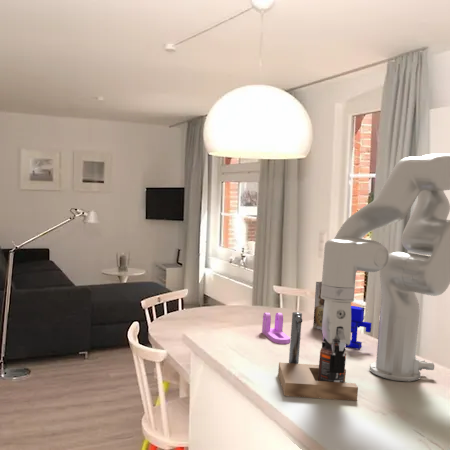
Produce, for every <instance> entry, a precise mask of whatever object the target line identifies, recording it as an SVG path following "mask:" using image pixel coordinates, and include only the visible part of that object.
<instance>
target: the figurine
mask: <svg viewBox="0 0 450 450" xmlns="http://www.w3.org/2000/svg"><path fill="white" fill-rule="evenodd" d="M364 318H365V307H364V306H363V307H362V306H356V305H351V341H350V345H348V346H347V345H346V344H345V348H349V349H355V350H360V349H361V347H362V343H363V342H362V341H358V340H357V339H358V328H361V327H362V328H365V332H366V333H371V331H372V322H368V321H364Z"/></svg>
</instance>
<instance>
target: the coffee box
mask: <svg viewBox="0 0 450 450" xmlns="http://www.w3.org/2000/svg"><path fill="white" fill-rule="evenodd" d="M321 287H322V280H321V281H315V294H314V307H313V308H314V309H313V310H314V311H313V322H312V323H313V324H312V325H313V326H312V327H313V328H314V329H317V330H319V329H320V331H322V320H323V310H324V301H325V300H324V299H322V298H321Z"/></svg>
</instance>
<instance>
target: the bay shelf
mask: <svg viewBox="0 0 450 450" xmlns="http://www.w3.org/2000/svg"><path fill="white" fill-rule="evenodd" d="M277 371H278V372H277V375H278V379H279V383H280V385H281V389H282V392H283V396H284V397H292V398H308V399H309V398H310V399H321V400H322V399H323V400H338V401H339V400H340V401H354V402H357V401H358V392H359V387H358V386H357V383H355V382H354V383H353V382H346V372H347V369H346V368H345V372H344V383H342V382H326V381H318V373H319V364H311V363H309V364H308V363H298V364H296V363H289V362H281V361H280V362H278V370H277Z"/></svg>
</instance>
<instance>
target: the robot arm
mask: <svg viewBox="0 0 450 450" xmlns="http://www.w3.org/2000/svg"><path fill="white" fill-rule="evenodd" d="M445 191H450V153H448V152H447V153H429V154H424V155H422V156H421V155H420V156H419V155H418V156H408V157H404V158H402V159H399V160H398V162H397V163H396V164H395V166H394V167H393V169H392V170H391V172H390V174H389V175H388V177H387V179H386V180H385V182H384V183H383V186H382V187H381V189H380V190H379V192H378V193H377V194H376V195H377V196H376V197H375V198H374V199H373V200H372V201H371V202H370V203H367V204H365V206H363V207H362V208H360V209H359V210H357V211H356V212H355V213H353V214H352V215H351V216H349V217H348V218H347V219H346V220H345V221H344V223H342V225H341V227H340V229H339V230H338V232H337V233H336V234H335V237H334V238H333V239H328V240H326V242H325V244H324V249H323V250H324V251H323V261H322V262H323V264H322V278H321V281H322V287H321V298H322V299H324V300H325V301H324V310H323V320H322V330H321V332H322V333H321V334H322V342H321V348H323V347H325V346H326V345H325V339H326V340H327V342H328V343H329V344H331V347H332V354H330V366H329V371H330V372H331V373H344V365H345V366H346V361H345V352H346V349H347V348H346V347H345V346H346V345H347V346H348V345H350V341H351V338H352V333H351V306H352V303H353V302H354V300H355V290H356V289H355V288H356V276H357V271H358V272H359V271H361V272H365V273H377V272H379V278H380V288H381V292H380V293H381V296H380V297H381V299H380V300H381V301H380V312H379V313H380V314H379V326H378V334H377V335H378V336H377V349H376V350H377V351H376V361H374V362H371V363H370V364H369V371H370V372H371V373H372V374H374V375H376V376H378V377H381V378H383V379H387V380H391V381H397V382H415V381H418V380H420V379H421V374H422V373H421V371H422V370H427V371H434V370H435V363H434V362H431V361H426V360H425V359H424V360H423V359H418V358H417V357H416V356H417V345H418V334H419V333H418V332H419V320H420V314H421V313H420V303H419V299H418V298H417V294H421V295H427V296H432V297H437V296H440V295H443V294H444V293H446V291H447V289H448V288H449V286H450V219H448V217H449V214H450V200H449V199H448V196H447V195H446V193H445ZM416 199H417V200H416ZM415 201H416V204H415V207H414V209H413V210H412V213H411V215H410V217H409V219H408V221H407V223H406V224H405V227H404V229H403V232H402V235H401V245H402V247H403V248H404V249H405V250H407V251H409V252H405V251H395V252H394V251H393V252H389V251H388V249H387V247H386V246H385V245H384V244H383V243H382V242H379V241H377V240H372V239H365V238H364V237H365V236H366V235H368V234H369V233H371V232H373V231H374V230H377V229H380V228H383V227H385V226H389V225H393V224H395V223H398V222H400V221H402V220H404V219H405V218H406V216H408V214H409V212H410V209H411V208H412V206H413V205H414V202H415ZM335 346H337V347H336V349H335Z"/></svg>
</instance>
